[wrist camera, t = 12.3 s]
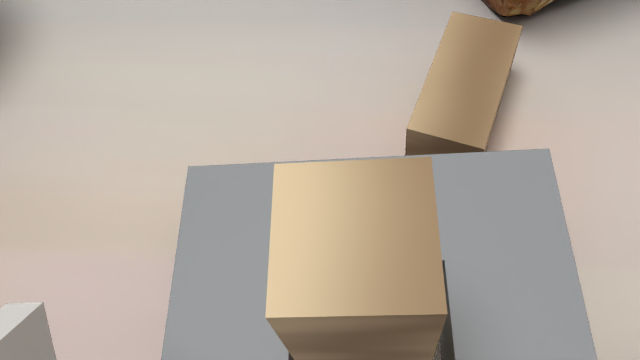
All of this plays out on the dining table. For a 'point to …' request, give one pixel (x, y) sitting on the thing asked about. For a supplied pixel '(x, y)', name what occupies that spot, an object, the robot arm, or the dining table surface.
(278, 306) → the long oak peg
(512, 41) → the short oak peg
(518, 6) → the bread
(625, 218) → the dining table surface
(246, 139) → the dining table surface
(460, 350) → the socket block
